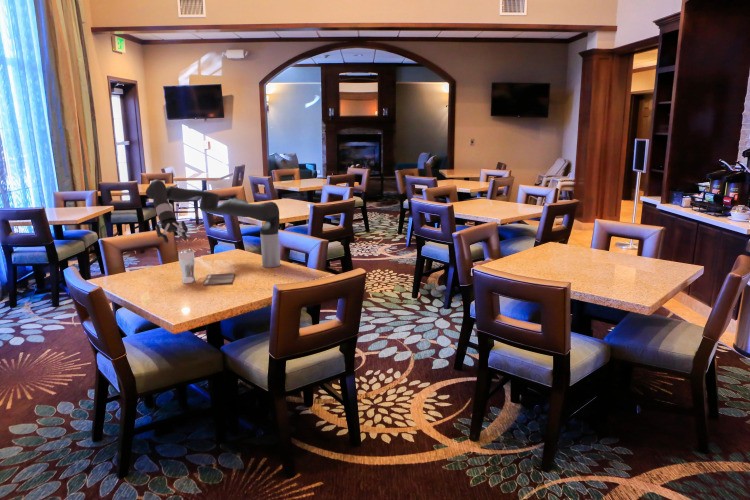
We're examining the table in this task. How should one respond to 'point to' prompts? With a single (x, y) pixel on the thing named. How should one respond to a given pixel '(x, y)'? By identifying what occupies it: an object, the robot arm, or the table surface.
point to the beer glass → (187, 266)
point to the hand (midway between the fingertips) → (176, 241)
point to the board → (219, 279)
